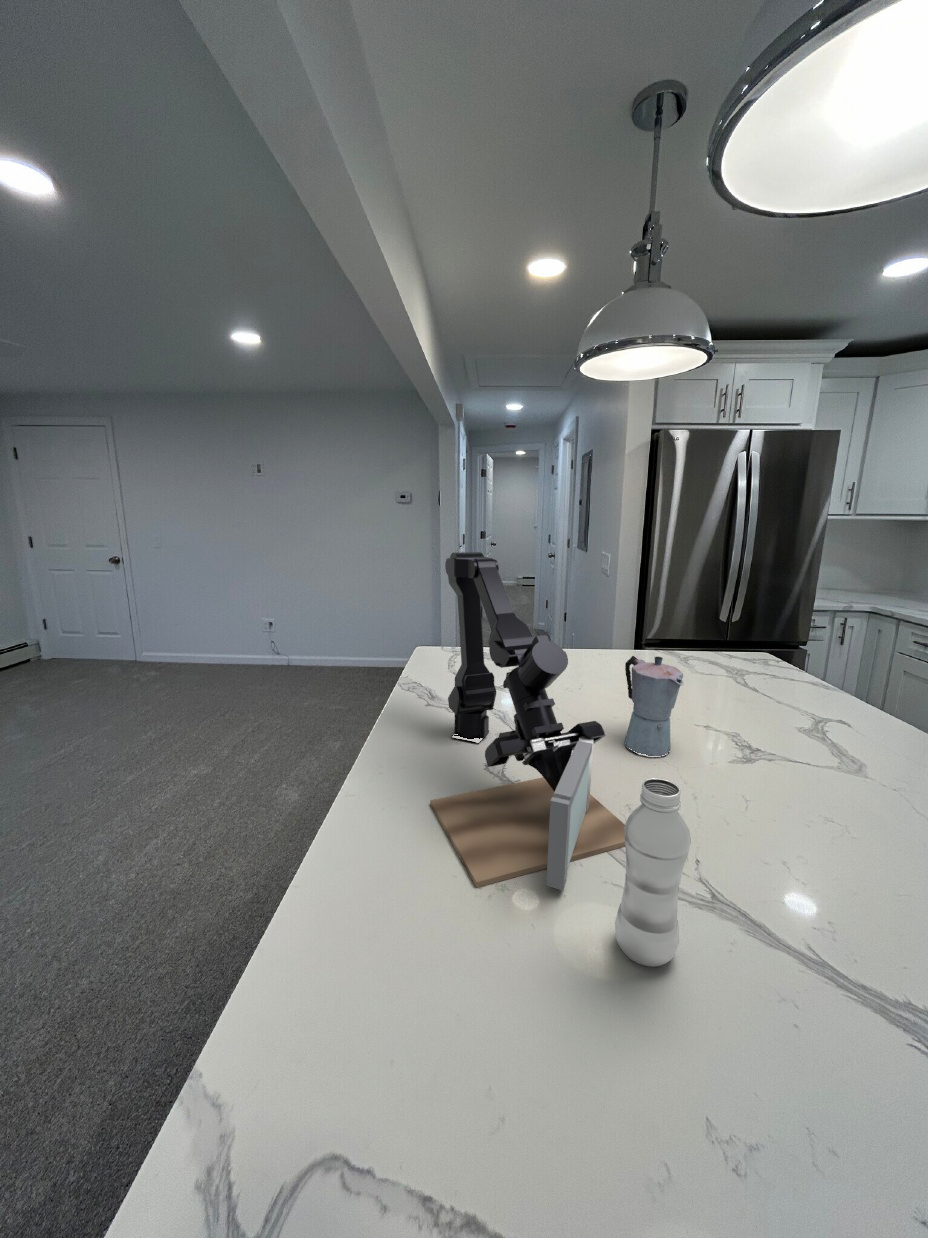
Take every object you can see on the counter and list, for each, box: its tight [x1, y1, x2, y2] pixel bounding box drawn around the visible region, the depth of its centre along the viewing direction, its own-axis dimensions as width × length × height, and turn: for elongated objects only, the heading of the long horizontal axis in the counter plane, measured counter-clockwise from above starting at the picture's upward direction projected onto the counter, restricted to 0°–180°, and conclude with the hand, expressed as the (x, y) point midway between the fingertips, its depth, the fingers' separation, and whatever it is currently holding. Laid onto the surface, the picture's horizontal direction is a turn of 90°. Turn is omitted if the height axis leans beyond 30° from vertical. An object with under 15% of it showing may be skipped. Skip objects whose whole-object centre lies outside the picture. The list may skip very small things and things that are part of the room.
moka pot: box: [624, 655, 685, 756], centre depth 102 cm, size 10×15×20 cm, turn 28°
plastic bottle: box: [614, 777, 692, 968], centre depth 54 cm, size 6×7×20 cm
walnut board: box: [429, 776, 625, 888], centre depth 78 cm, size 20×26×1 cm
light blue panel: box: [545, 736, 594, 891], centre depth 71 cm, size 20×2×12 cm, turn 157°
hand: (564, 799), depth 74 cm, fingers closed
